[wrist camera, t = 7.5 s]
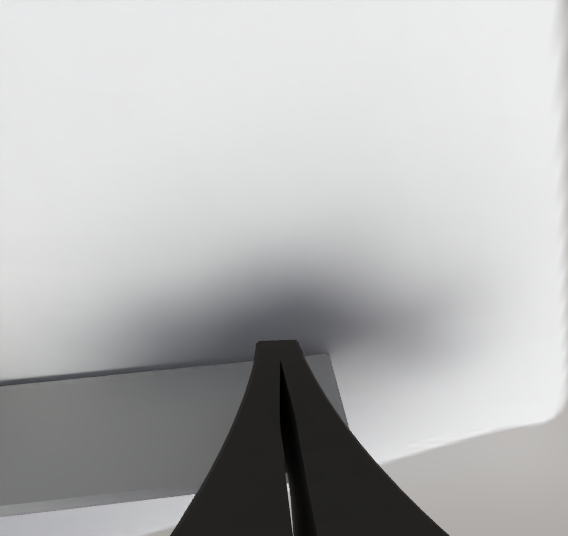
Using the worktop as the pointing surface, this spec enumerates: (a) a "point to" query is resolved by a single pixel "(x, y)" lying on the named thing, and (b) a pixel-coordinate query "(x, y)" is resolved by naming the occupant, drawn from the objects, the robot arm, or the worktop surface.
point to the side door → (122, 434)
